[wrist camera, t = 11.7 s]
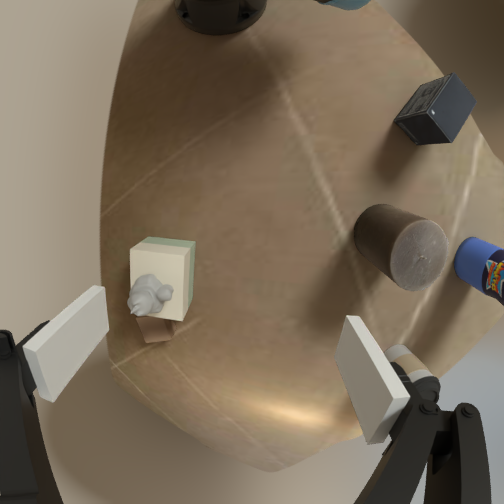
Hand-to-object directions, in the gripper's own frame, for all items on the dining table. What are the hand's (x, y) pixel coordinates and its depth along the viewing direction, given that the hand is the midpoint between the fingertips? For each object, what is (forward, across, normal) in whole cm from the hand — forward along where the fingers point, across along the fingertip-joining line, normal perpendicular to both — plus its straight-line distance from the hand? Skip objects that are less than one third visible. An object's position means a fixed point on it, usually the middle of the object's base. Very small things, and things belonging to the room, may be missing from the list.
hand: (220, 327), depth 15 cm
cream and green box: (+32, -11, -9) cm, 35 cm away
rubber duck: (+24, -11, -9) cm, 28 cm away
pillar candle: (+32, +23, +1) cm, 39 cm away
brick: (+32, -13, -19) cm, 39 cm away
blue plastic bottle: (+32, +46, -1) cm, 56 cm away
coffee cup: (+32, +34, -24) cm, 52 cm away
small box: (+32, +28, +23) cm, 48 cm away
